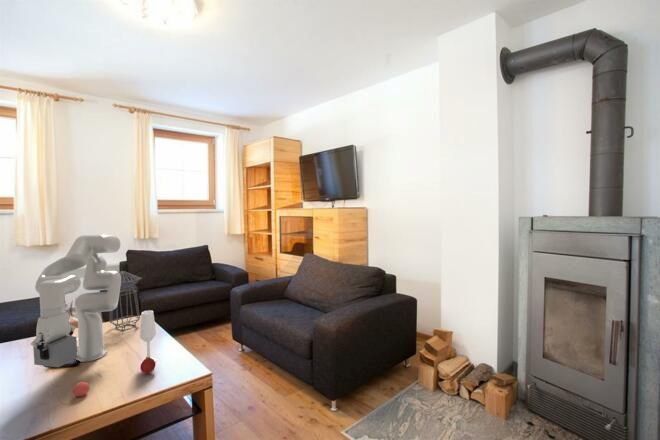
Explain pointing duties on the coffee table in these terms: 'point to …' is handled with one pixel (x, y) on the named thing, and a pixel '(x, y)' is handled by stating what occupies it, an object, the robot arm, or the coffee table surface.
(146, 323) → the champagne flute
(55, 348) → the grey rectangular box
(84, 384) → the ball
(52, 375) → the coffee table surface
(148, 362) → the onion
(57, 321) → the robot arm
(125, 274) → the geometric lantern
